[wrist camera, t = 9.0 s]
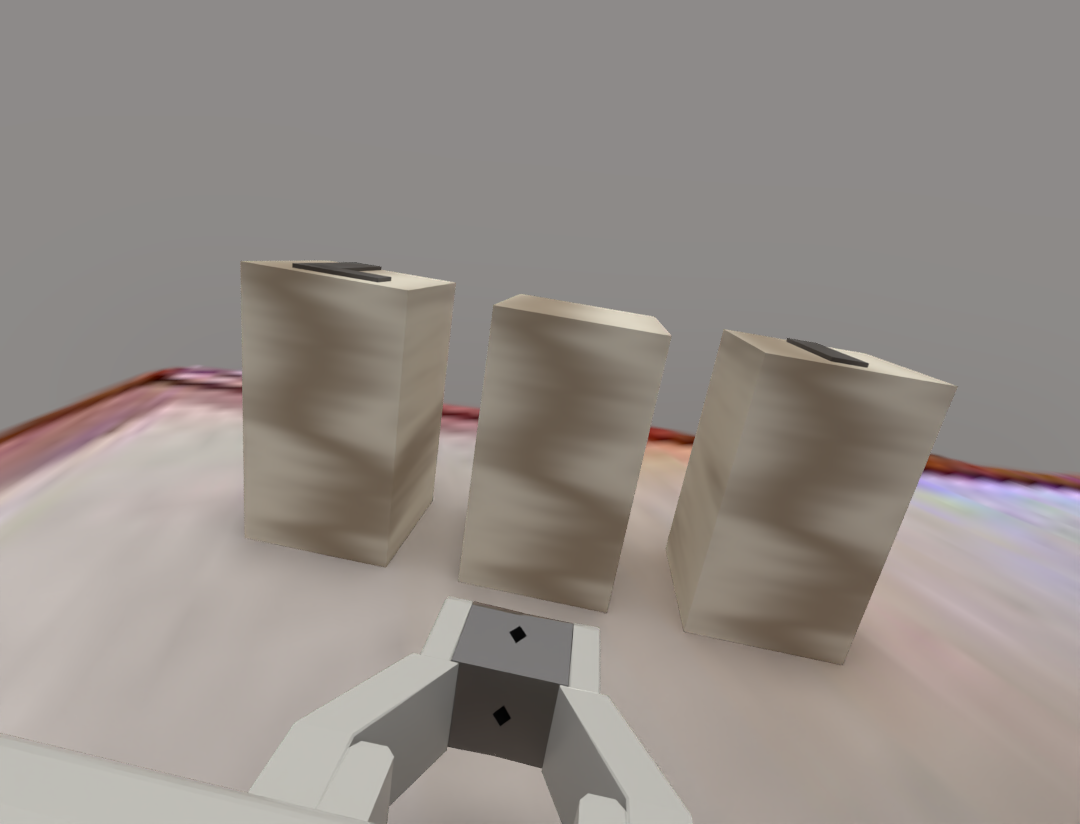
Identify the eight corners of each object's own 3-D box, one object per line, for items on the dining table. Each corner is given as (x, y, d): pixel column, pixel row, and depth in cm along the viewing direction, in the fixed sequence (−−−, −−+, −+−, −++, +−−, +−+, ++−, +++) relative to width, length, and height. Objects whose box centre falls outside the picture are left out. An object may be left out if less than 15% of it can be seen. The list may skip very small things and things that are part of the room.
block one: (787, 571, 25) (864, 349, 22) (842, 665, 20) (959, 382, 16) (665, 547, 26) (723, 325, 22) (683, 631, 20) (766, 348, 17)
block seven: (433, 499, 27) (457, 279, 23) (386, 567, 21) (408, 285, 17) (322, 477, 27) (329, 257, 24) (244, 538, 21) (240, 256, 18)
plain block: (606, 535, 26) (654, 316, 23) (606, 613, 20) (671, 335, 17) (489, 511, 26) (520, 293, 23) (458, 581, 21) (493, 305, 17)
